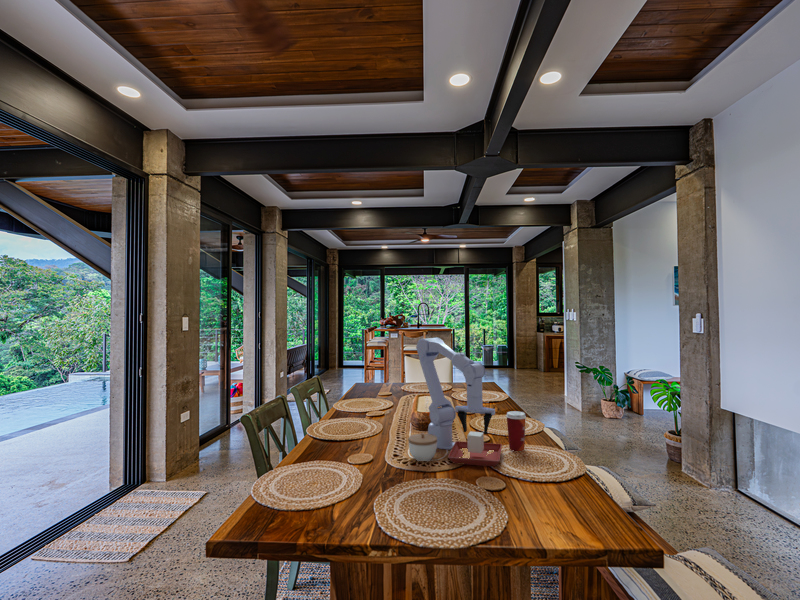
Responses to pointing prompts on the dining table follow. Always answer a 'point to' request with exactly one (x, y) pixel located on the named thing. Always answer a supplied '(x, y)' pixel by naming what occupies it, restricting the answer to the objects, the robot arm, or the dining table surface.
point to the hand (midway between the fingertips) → (475, 432)
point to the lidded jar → (422, 446)
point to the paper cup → (516, 430)
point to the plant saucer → (476, 454)
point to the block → (475, 442)
